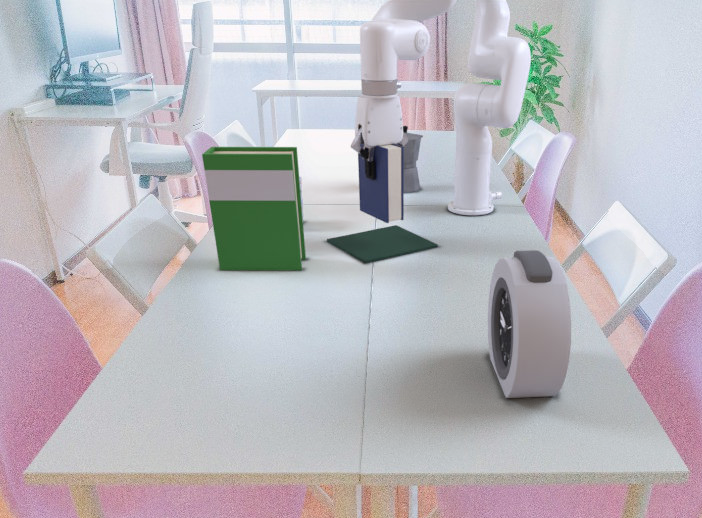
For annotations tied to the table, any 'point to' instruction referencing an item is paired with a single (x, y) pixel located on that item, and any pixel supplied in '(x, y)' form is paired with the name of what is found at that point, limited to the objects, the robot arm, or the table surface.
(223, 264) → the hardback book
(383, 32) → the robot arm
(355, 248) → the desk pad
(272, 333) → the table surface
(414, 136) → the coffeepot
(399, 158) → the navy book
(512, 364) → the alarm clock
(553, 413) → the table surface
